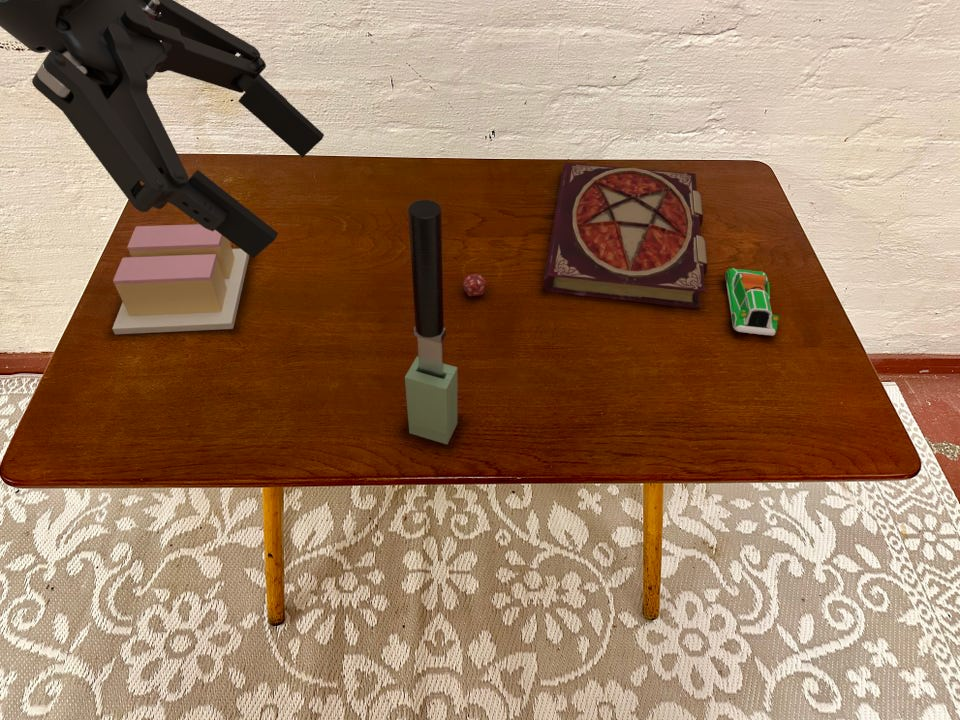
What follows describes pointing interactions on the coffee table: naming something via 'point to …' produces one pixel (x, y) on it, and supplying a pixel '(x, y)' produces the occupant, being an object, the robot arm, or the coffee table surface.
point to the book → (627, 236)
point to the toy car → (750, 302)
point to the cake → (179, 280)
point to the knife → (427, 284)
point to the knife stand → (432, 403)
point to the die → (474, 284)
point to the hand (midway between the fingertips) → (292, 192)
